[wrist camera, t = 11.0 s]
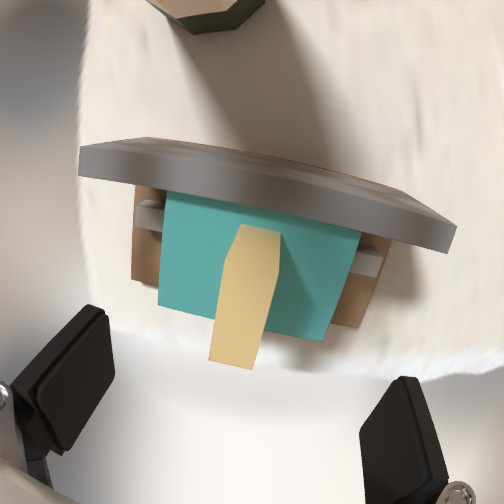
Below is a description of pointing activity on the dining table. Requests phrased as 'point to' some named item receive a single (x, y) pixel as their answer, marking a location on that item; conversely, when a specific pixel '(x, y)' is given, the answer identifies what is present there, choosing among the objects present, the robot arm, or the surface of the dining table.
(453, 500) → the robot arm
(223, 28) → the wine bottle
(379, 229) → the wall board
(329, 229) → the teal block
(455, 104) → the dining table surface
